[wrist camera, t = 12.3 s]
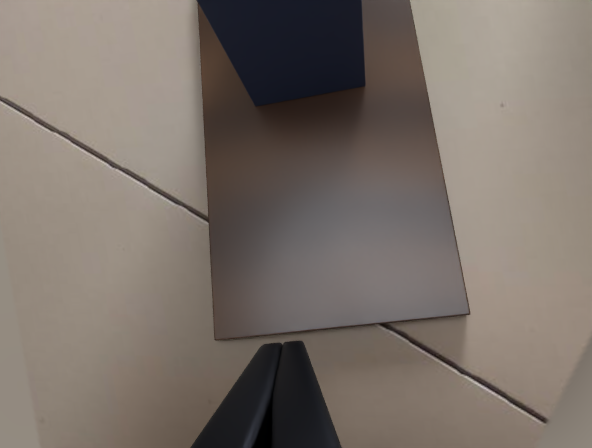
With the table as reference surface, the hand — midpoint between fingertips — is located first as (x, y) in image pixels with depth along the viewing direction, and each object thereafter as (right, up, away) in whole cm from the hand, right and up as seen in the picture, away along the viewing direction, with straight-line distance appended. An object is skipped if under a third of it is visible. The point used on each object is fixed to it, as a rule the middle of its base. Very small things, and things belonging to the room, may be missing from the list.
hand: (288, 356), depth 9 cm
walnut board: (+1, +8, +15) cm, 17 cm away
